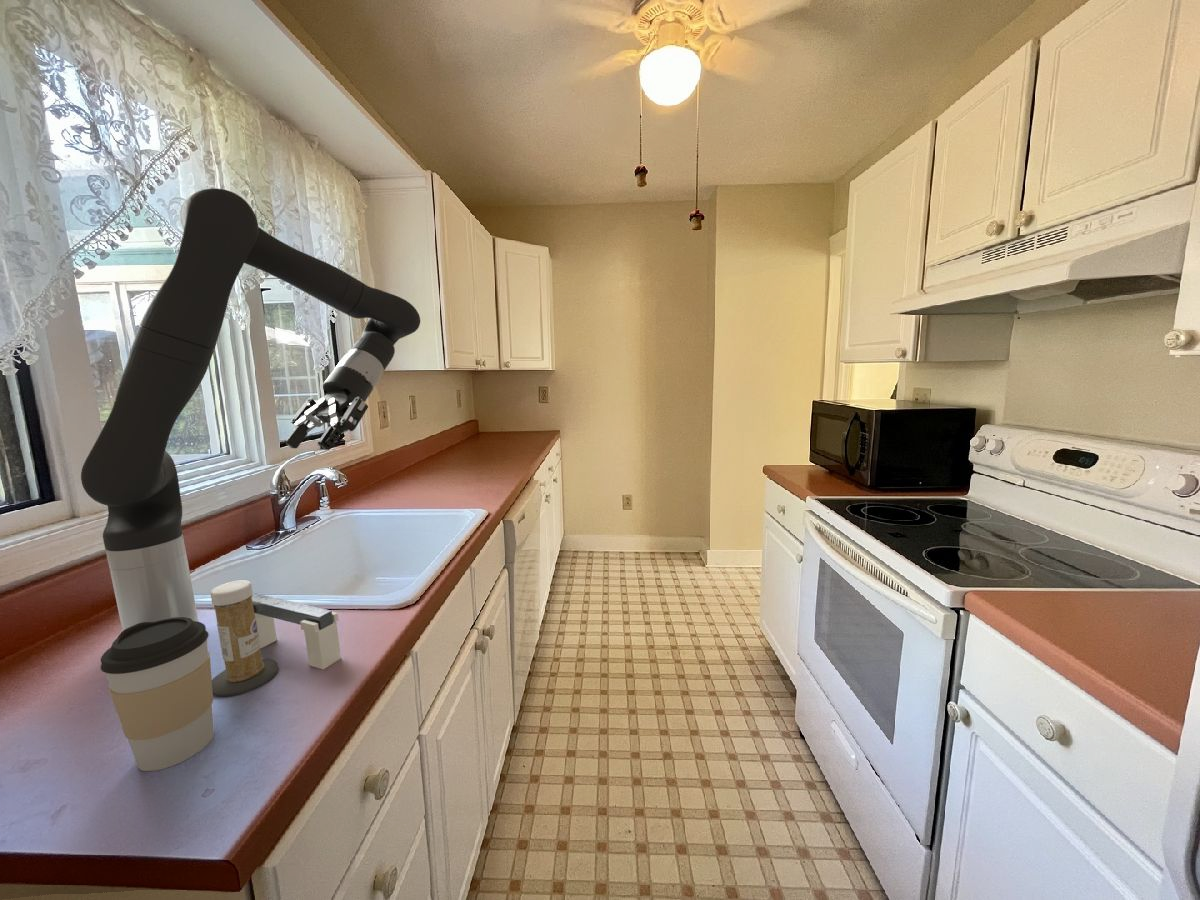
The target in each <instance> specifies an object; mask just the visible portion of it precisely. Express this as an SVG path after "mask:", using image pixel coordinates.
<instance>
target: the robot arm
mask: <svg viewBox="0 0 1200 900" xmlns="http://www.w3.org/2000/svg"><path fill="white" fill-rule="evenodd" d="M178 220H179V224H180V226H181V229H182V236H181V241H180V244H179V249H178V252H177V256H176V257H175V258H176V259H175V261H174V264H173V266H172V269H170V272H169V274H168V276H167V277H166V278H165V280H164V281H163V283H162V284H161V286H160V287H159V289H158V290H157V292H156V294H155V296H153V298H152V299H151V302H150V303H149V305H148V307H147V308H146V311H145V313H144V315H143V317H142V320H141V322H140V323H139V326H138V329H137V332H136V334H135V336H134V339H133V343H132V345H131V348H130V352H129V356H128V358H127V360H126V361H127V362H126V364H125V367H124V370H123V372H122V376H121V378H120V381H119V382H120V383H119V386H118V389H117V392H116V396H115V400H114V402H113V405H112V408H111V410H110V413H109V415H108V418H107V419H106V421H105V424H104V425H103V427H102V429H101V431H100V433H99V435H98V437H97V438H96V440H95V442H94V444H93V446H92V448H91V449H90V451H89V453H88V454H87V457H86V459H85V461H84V462H83V464H82V468H81V471H80V479H81V480H80V481H81V484H82V485H81V486H82V488H83V489H84V492H86V494H87V495H88V497H90V499H92V500H94V501H95V502H96V503H99V504H101V505H104V506H106V507H107V510H108V514H107V515H108V516H107V522H106V524H105V527H104V529H103V533H102V541H103V545H104V549H105V554H106V559H107V563H108V567H109V572H110V577H111V582H112V587H113V592H114V596H115V600H116V605H117V607H116V608H117V610H118V616H119V620H120V625H121V630H122V631H124V630H125V629H127V628H129V627H131V626H134V625H136V624H138V623H143V622H155V621H159V620H163V619H169V618H175V617H187V618H190V619H192V620H193V621H197V622H199V617H198V611H197V605H196V600H195V594H194V589H193V588H194V587H193V584H192V578H191V573H190V572H191V571H190V565H189V561H188V557H187V551H186V546H185V541H184V535H183V530H182V521H183V504H182V498H181V489H180V483H179V478H178V477H179V476H178V471H177V467H176V464H175V462H174V459H173V458H172V456H171V454H170V453H168V451H166V449H167V445H168V442H169V441H168V440H169V438H170V435H171V433H172V430H173V427H174V425H175V423H176V421H177V420H178V418H179V416H180V415H181V413H182V412H183V410H184V408H185V407H186V406H187V405H188V403H189V402H190V400H191V399H192V398H193V396H194V394H195V393H196V392H197V390H198V388H199V386H200V385H201V383H202V381H203V380H204V377H205V376H206V373H207V370H208V368H209V366H210V362H211V360H212V358H213V355H214V352H215V350H216V347H217V344H218V339H219V337H220V336H219V335H220V333H221V329H222V326H223V324H224V323H223V322H224V319H225V316H226V312H227V308H228V303H229V299H230V295H231V292H232V290H233V287H234V284H235V283H236V280H237V278H238V276H239V274H240V272H241V270H242V268H243V266H244V264H245V265H248V266H250V267H253V268H255V269H257V270H260V271H262V272H264V273H266V274H269V275H270V276H273V277H275V278H277V279H280V280H282V281H283V282H285V283H287V284H289V285H291V286H293V287H295V288H296V289H298V290H299V291H300V290H301V291H302V292H304V293H306V295H307V294H308V295H309V296H312V298H315V299H316V300H318V301H320V302H322V303H324V304H326V305H328V306H330V307H331V308H333V309H335V310H337V311H339V312H341V313H343V314H344V315H347V316H349V317H351V318H354V319H366V318H367V319H368V318H369V319H368V320H367V322H366V324H365V326H364V328H363V331H362V333H361V336H360V337H359V338H358V340H357V341H356V342H355V343H354V344H353V346H352V347H351V349H350V350H349V351H348V352H347V353H346V354H344V356H343V357H342V358H341V359H340V361H339V362H338V363H337V365H336V366H335V367H334V368H333V370H332V371H331V373H329V375H328V376H327V378H326V379H325V380H324V382H323V384H322V390H323V395H322V396H321V397H320V398H319V399H318V400H314V399H313V398H312V397H308V398H307V399H306V400H305V402H303V404H302V405H301V406H300V408H299V409H298V410H297V411H296V412H295V414H294V415H293V416H292V418H291V419H290V421H289V422H290V423H292V424H293V425H294V428H293V429H292V431H291V432H290V433H289V435H288V436H287V437H286V439H285V440H284V443H285V444H286V445H287V446H288V447H289V448H290V449H298V447H299V446H300V445H301V444H302V442H303V441H304V440H305V438H306V437H307V435H308V434H309V432H311V431H312V430H313V429H315V428H320V427H322V426H323V425H325V424H326V423H327V424H328V423H330V425H331V426H328V427H327V428H326V430H325V431H324V432H323V434H322V435H321V437H319V440H318V442H317V445H318V447H320V448H322V449H323V450H324V451H329V450H331V449H332V448H333V446H334V445H335V443H336V442H337V440H338V439H339V438H340V436H341V435H342V434H345V433H347V431H350V432H354V431H355V430H356V428H357V427H358V424H359V423H360V421H361V420H362V418H363V417H364V415H365V413H366V411H367V410H368V409H369V405H368V404H367V403H366V401H367V400H368V398H369V397H370V395H371V393H372V392H373V390H374V389H375V387H376V386H377V385H378V383H379V381H380V380H381V377H382V376H383V373H384V371H385V370H386V369H387V367H388V366H389V364H390V363H391V361H392V360H393V358H394V356H395V352H396V349H395V346H394V345H396V343H397V342H398V341H399V340H400V339H403V338H405V337H408V336H409V335H411V334H414V333H415V332H416V331H417V330H418V329H419V327H420V325H421V316H420V313H419V312H418V310H417V309H416V307H414V305H412V303H410V302H409V301H408V300H406V299H404V298H403V297H400V296H397V295H395V294H392V293H390V292H387V291H385V290H381V289H378V288H375V287H371V286H369V285H367V284H366V283H364V282H362V281H361V280H359V279H357V278H355V277H354V276H353V275H350V274H349V273H347V272H345V271H344V270H342V269H340V268H339V267H336V266H334V265H332V264H330V263H328V262H326V261H324V260H322V259H320V258H316V257H315V256H312V255H310V254H308V253H305V252H304V251H301V250H299V249H297V248H294V247H293V246H290V245H288V244H287V243H285V242H284V241H281V240H279V239H278V238H276V237H275V236H273V235H271V234H269V233H268V232H267V231H265V230H264V229H262V228H261V227H259V222H258V221H259V220H258V219H257V216H256V213H255V212H254V209H253V208H252V206H250V204H249V203H248V202H247V201H246V200H245V199H244V198H243V197H242V196H240V195H239V194H237V193H235V192H233V191H231V190H227V189H222V188H206V189H205V188H204V189H201V190H198V191H196V192H194V193H192V194H191V195H190V196H188V197H187V198H186V199H185V200H183V202H182V204H181V205H180V207H179V210H178ZM316 417H317V418H316ZM351 418H352V420H351V421H350V419H351ZM122 631H121V632H122Z"/></svg>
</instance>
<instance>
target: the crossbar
mask: <svg viewBox="0 0 1200 900" xmlns="http://www.w3.org/2000/svg"><path fill="white" fill-rule="evenodd" d="M251 596H252V602H253V608H254V613H257V614H261V615H265V616H268V617H272V618H274V619H277V620H279V621H284V622H289V623H292V624H296V625H300V626H301V624H300V622H301V621H303V620H307V621H311V622H315V623H318V627H319V630H322V629H324V628H326V627H327V626H329V625H331V624H333V617H332V612H333V611H332V610H330V609H326V608H322V607H318V606H317V607H316V606H312V605H308V604H303V603H301V602H300V603H299V602H295V601H292V600H291V601H290V600H287V599H282V598H277V597H273V596H270V595H269V596H268V595H264V594H260V593H255V592H253V594H252V595H251Z"/></svg>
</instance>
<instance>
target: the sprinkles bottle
mask: <svg viewBox="0 0 1200 900" xmlns="http://www.w3.org/2000/svg"><path fill="white" fill-rule="evenodd" d="M252 594H254V592H253V587H252V583H251V582H250V581H249V580H245V579H241V580H240V579H239V580H238V579H237V580H233V581H229V582H226V583H222V584H219V585H217V586H215V587H214V588H212V589H211V591H210V599H211V603H212V605H213V608H214V610H215V612H214V613H215V617H216V623H217V624H216V625H217V626H216V627H217V632H218V637H219V643H220V649H221V656H222V659H223V660H224V665H225V666H224V667H225V670H226V673H227V674H226V679H227V680H228V681H230V682H238V681H244V680H247V679H250V678H252V677H254V676H255V675H257V674H259V673H260V672H261V671H262V670H263V668H264V663H263V662H262V658H263V656H262V650H261V649H260V640H259V634H258V628H257V622H256V619H255V614H254V608H253V602H252V596H251V595H252Z"/></svg>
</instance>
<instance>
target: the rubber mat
mask: <svg viewBox="0 0 1200 900" xmlns="http://www.w3.org/2000/svg"><path fill="white" fill-rule="evenodd" d="M262 662H263V663H264V668H263V670H262V671H261V672H260V673H259V674H257V675H255V676H254V677H252V678H250V679H247V680H244V681H238V682H230V681H228V680H227V679H226V674H227V673H226V669H224V670H223V671H221V672H220V673H218V674H217V675H215V676H214V677H213V678H212V691H213V697H217V698H220V697H221V698H225V697H233V696H238V695H241V694H245V693H247V692H250V691H253V690H255V689H257V688H260V687H261V686H263V685H264V684H266V683H268V682H269V681H270V680H272V679H273V678H274V677H275V676H276V674H277V673H278V670H279V663H278V662H277V660H276V659H273V658H268V657H265V658H263V657H262Z"/></svg>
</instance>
